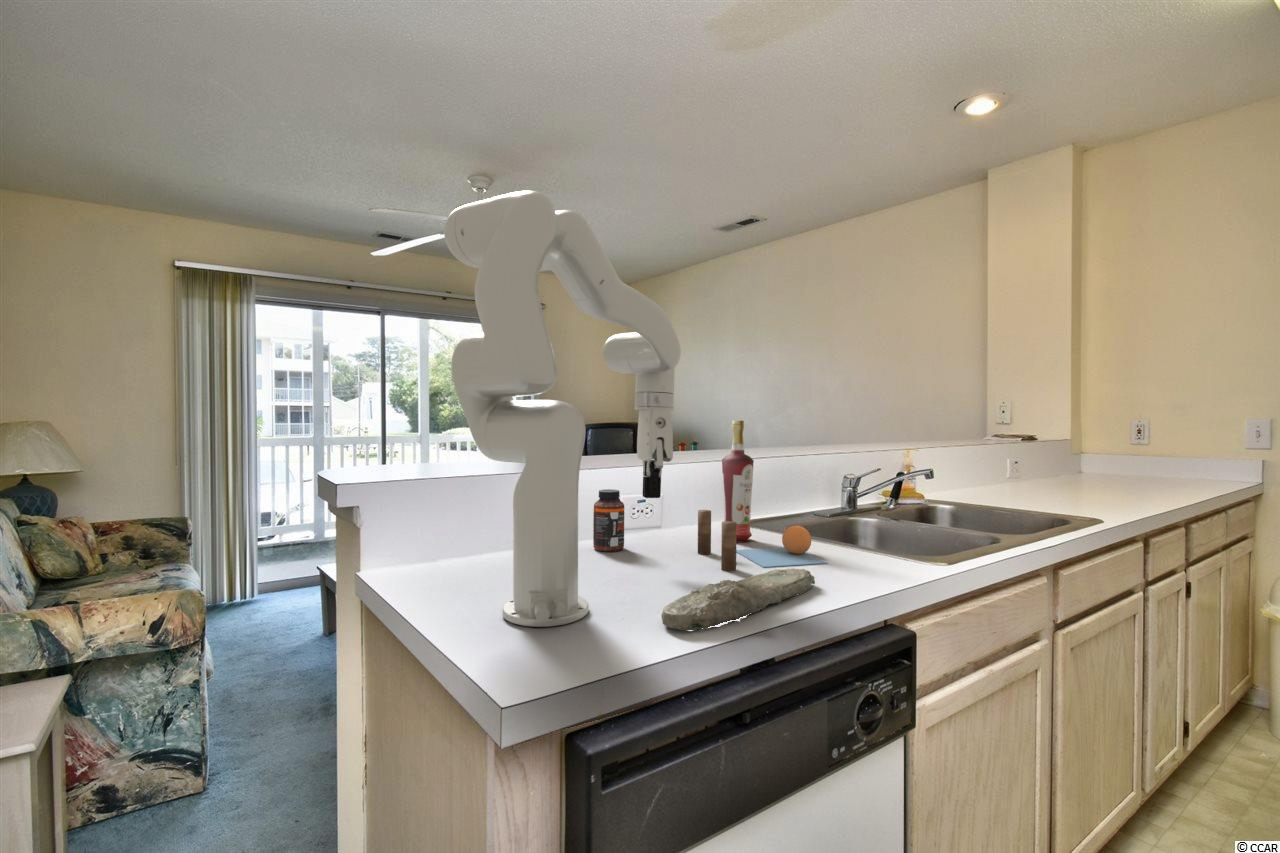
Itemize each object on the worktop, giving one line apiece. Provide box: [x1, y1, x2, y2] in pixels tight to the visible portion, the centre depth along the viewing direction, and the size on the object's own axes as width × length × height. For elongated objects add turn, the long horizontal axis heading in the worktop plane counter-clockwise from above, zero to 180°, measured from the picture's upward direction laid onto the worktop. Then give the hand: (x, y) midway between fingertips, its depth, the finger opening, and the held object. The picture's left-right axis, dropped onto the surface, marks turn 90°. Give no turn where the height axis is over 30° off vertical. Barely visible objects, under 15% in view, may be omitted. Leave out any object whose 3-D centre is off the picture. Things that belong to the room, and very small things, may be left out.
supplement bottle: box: [592, 488, 625, 553], centre depth 128 cm, size 7×7×13 cm
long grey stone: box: [660, 568, 816, 631], centre depth 92 cm, size 35×5×10 cm
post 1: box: [697, 509, 712, 556], centre depth 125 cm, size 3×3×9 cm
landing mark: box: [736, 546, 829, 568], centre depth 122 cm, size 14×14×1 cm
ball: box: [781, 525, 812, 554], centre depth 125 cm, size 6×6×6 cm
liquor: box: [721, 420, 754, 543], centre depth 138 cm, size 7×7×28 cm
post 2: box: [720, 520, 737, 572], centre depth 112 cm, size 3×3×9 cm
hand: (651, 497), depth 114 cm, fingers closed
